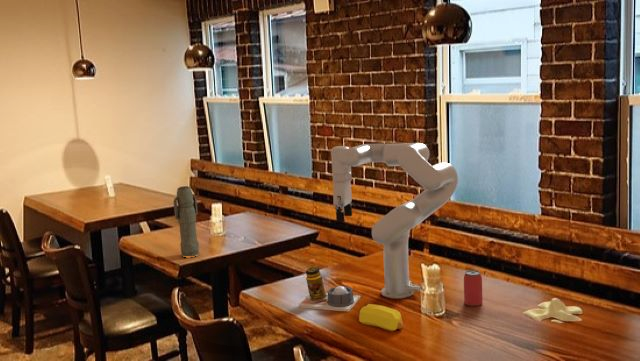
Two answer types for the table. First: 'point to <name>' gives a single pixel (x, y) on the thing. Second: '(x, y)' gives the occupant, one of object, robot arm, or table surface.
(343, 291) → the dome
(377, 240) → the robot arm
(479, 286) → the beer can
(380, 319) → the faceted yellow knobbed lump
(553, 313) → the cloth
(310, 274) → the condiment
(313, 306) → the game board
